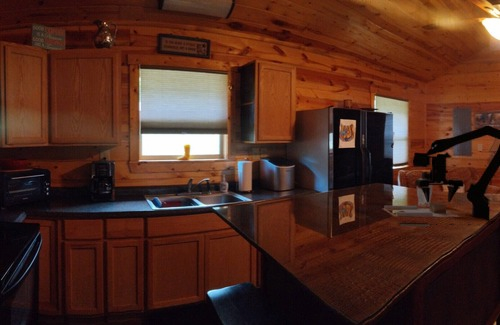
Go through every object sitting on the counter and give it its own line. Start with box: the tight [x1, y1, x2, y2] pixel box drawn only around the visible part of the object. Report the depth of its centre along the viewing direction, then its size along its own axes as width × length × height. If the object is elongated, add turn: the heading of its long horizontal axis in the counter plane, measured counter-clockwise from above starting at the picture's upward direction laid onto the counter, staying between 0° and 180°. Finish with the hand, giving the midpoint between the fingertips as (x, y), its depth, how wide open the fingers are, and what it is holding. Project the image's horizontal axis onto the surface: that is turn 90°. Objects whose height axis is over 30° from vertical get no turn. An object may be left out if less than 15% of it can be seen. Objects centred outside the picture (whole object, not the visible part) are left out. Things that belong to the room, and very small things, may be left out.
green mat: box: [396, 222, 430, 227], centre depth 134 cm, size 11×11×1 cm
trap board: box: [382, 205, 461, 218], centre depth 148 cm, size 17×27×3 cm, turn 85°
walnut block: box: [428, 202, 447, 213], centre depth 147 cm, size 5×5×4 cm
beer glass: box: [416, 177, 433, 208], centre depth 162 cm, size 7×7×15 cm
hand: (438, 202), depth 146 cm, fingers open, 9 cm apart
